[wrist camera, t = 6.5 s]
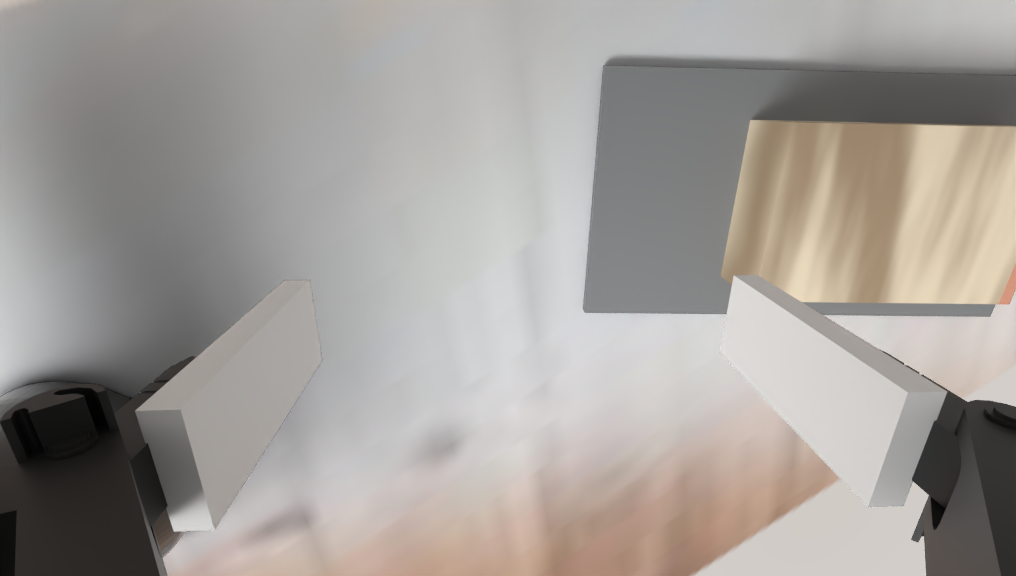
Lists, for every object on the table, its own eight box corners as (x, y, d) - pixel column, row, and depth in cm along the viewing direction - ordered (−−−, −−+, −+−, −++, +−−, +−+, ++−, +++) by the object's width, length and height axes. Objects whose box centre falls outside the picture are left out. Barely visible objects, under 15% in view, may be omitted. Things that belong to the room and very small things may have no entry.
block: (753, 301, 25) (1009, 304, 26) (792, 122, 22) (1084, 128, 23) (720, 276, 29) (944, 279, 30) (750, 119, 26) (1001, 125, 26)
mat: (583, 308, 30) (584, 312, 30) (603, 66, 25) (605, 65, 25) (981, 312, 31) (990, 316, 31) (1077, 77, 26) (1090, 77, 26)
